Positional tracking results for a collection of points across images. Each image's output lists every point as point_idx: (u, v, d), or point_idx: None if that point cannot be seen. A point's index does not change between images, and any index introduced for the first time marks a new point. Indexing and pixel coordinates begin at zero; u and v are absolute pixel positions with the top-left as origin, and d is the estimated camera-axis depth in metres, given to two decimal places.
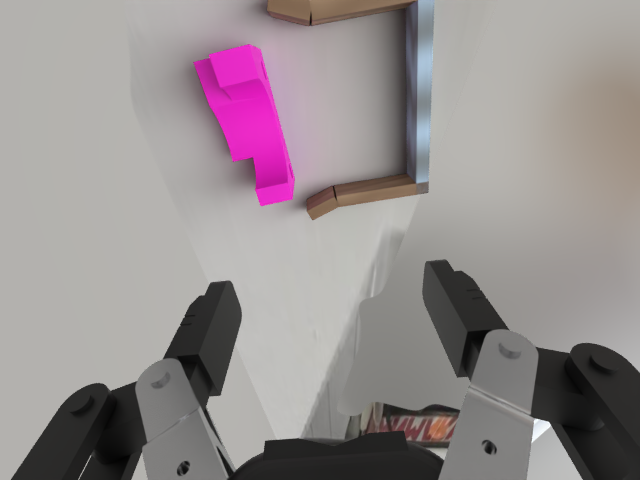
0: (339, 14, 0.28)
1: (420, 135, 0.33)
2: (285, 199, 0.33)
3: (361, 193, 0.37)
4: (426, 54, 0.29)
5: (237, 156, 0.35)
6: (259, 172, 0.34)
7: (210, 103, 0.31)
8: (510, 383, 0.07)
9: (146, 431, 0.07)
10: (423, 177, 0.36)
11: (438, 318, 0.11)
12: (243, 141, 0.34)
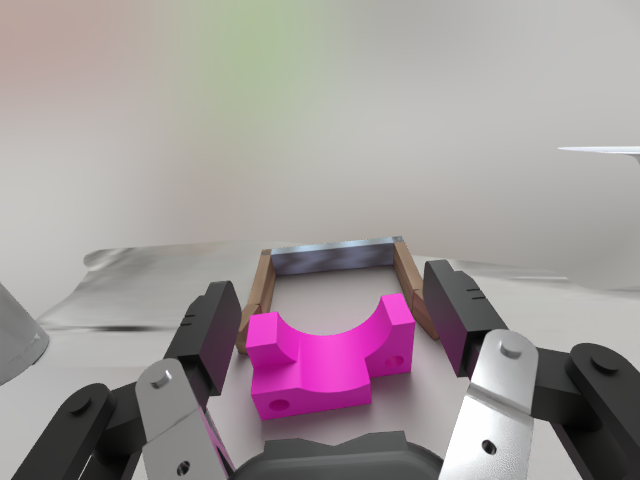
0: (262, 289, 0.37)
1: (354, 244, 0.43)
2: (402, 298, 0.28)
3: (408, 272, 0.36)
4: (301, 248, 0.44)
5: (364, 377, 0.26)
6: (379, 342, 0.27)
7: (295, 386, 0.25)
8: (510, 382, 0.07)
9: (146, 431, 0.07)
10: (388, 239, 0.43)
11: (438, 318, 0.11)
12: (346, 370, 0.28)
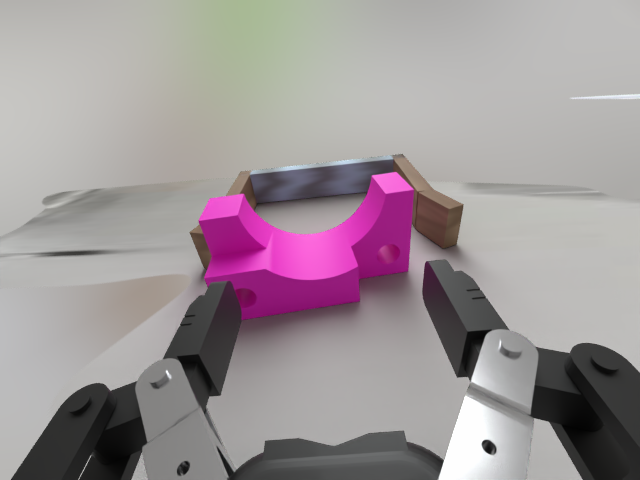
0: None
1: (347, 162, 0.37)
2: (397, 175, 0.23)
3: (410, 178, 0.30)
4: (285, 168, 0.37)
5: (350, 263, 0.21)
6: (369, 225, 0.22)
7: (261, 268, 0.20)
8: (510, 382, 0.07)
9: (146, 430, 0.07)
10: (386, 157, 0.37)
11: (438, 318, 0.11)
12: (328, 261, 0.22)
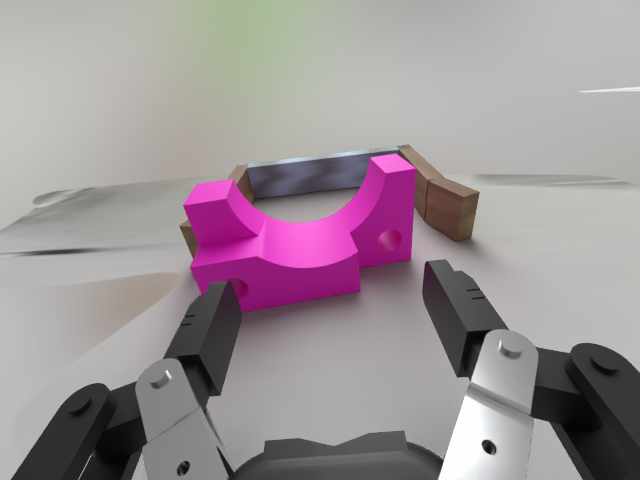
0: None
1: (350, 154, 0.35)
2: (397, 156, 0.22)
3: (418, 167, 0.28)
4: (284, 161, 0.35)
5: (349, 249, 0.19)
6: (368, 209, 0.21)
7: (253, 255, 0.18)
8: (510, 382, 0.07)
9: (147, 430, 0.07)
10: (392, 148, 0.35)
11: (438, 318, 0.11)
12: (325, 248, 0.21)
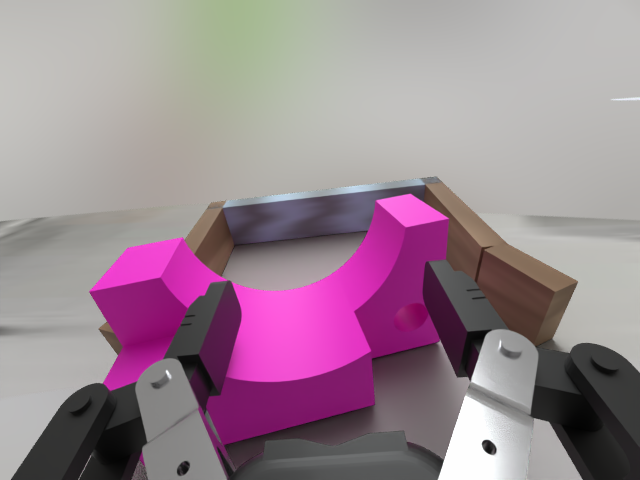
0: None
1: (359, 190, 0.26)
2: (414, 198, 0.15)
3: (461, 220, 0.20)
4: (272, 197, 0.27)
5: (357, 344, 0.13)
6: (380, 276, 0.14)
7: None
8: (510, 382, 0.07)
9: (146, 430, 0.07)
10: (415, 181, 0.26)
11: (438, 318, 0.11)
12: (319, 338, 0.14)
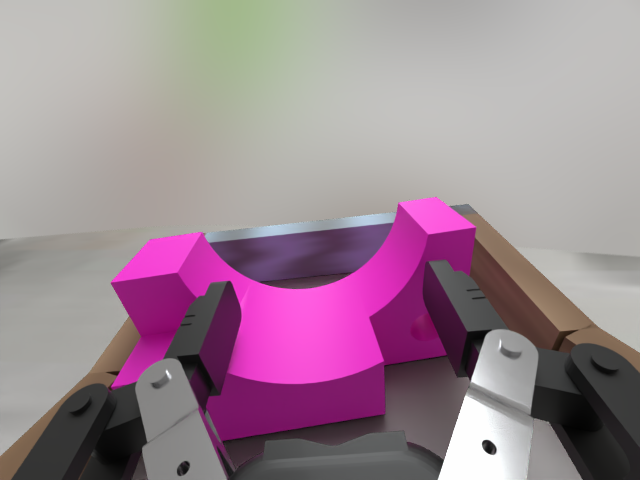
0: None
1: (372, 221, 0.21)
2: (440, 202, 0.15)
3: (518, 279, 0.14)
4: (263, 230, 0.21)
5: (369, 352, 0.12)
6: (398, 282, 0.14)
7: None
8: (510, 382, 0.07)
9: (147, 430, 0.07)
10: None
11: (438, 318, 0.11)
12: (332, 341, 0.14)
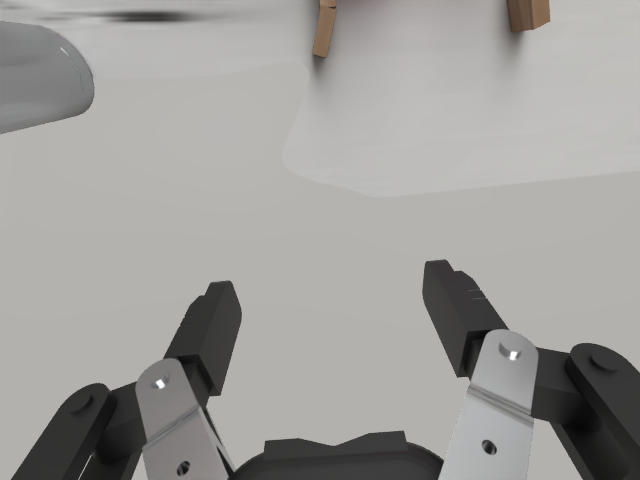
0: None
1: None
2: None
3: None
4: None
5: None
6: None
7: None
8: (510, 383, 0.07)
9: (146, 430, 0.07)
10: None
11: (438, 318, 0.11)
12: None
